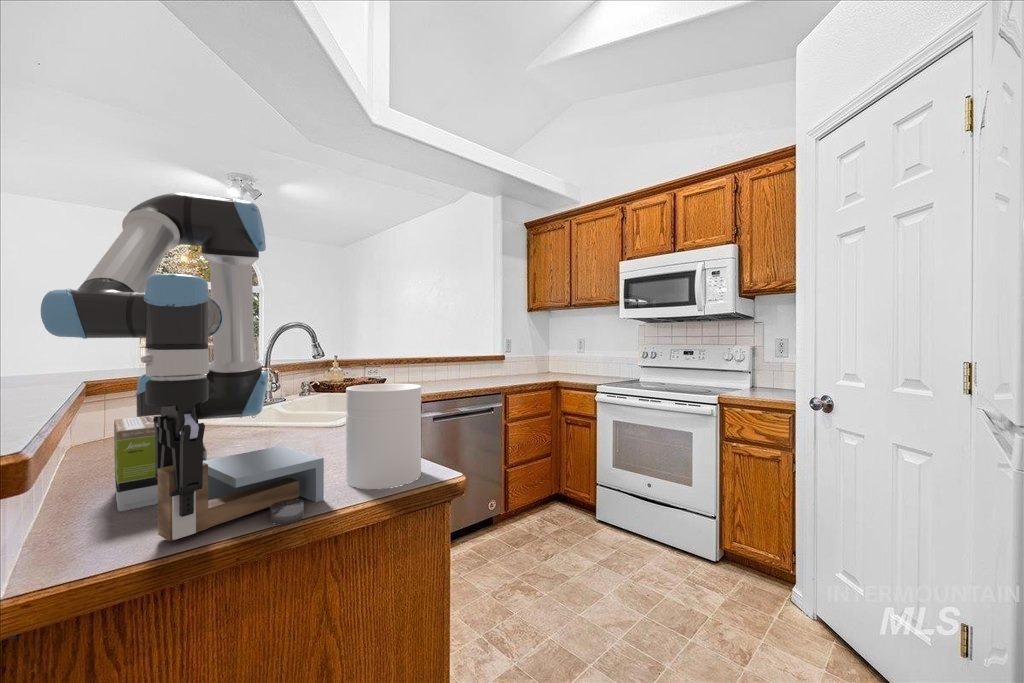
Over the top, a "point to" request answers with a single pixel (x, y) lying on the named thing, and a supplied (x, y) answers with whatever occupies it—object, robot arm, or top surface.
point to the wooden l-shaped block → (219, 501)
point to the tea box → (135, 462)
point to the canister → (383, 435)
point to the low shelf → (266, 472)
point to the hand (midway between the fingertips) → (178, 531)
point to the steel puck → (287, 511)
